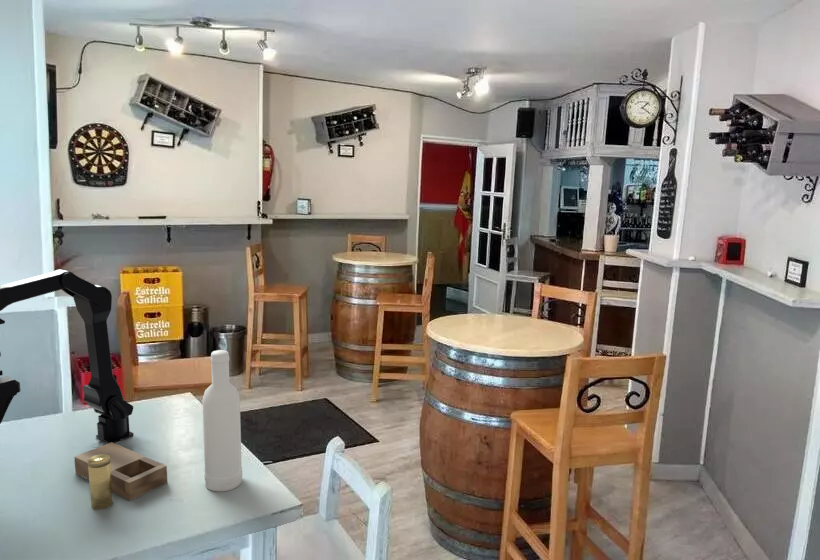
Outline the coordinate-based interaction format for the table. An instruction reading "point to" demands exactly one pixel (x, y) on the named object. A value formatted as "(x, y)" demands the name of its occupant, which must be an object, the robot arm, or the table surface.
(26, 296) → the robot arm
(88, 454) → the jig
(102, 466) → the disc
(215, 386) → the bottle
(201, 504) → the table surface
